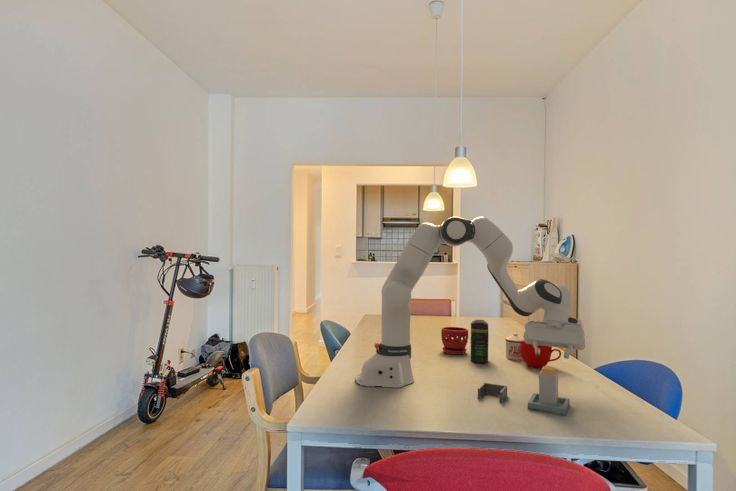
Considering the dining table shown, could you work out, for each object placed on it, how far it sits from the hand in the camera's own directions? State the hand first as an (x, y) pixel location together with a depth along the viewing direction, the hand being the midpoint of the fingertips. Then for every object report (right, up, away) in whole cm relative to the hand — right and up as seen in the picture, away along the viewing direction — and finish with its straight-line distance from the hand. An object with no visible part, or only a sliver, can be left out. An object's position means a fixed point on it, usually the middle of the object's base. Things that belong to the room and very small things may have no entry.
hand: (551, 355), depth 152 cm
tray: (-5, -14, -10) cm, 18 cm away
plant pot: (-21, -15, +65) cm, 70 cm away
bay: (-21, -14, -1) cm, 25 cm away
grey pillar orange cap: (-5, -13, -10) cm, 18 cm away
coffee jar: (-13, -15, +48) cm, 52 cm away
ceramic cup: (+11, -15, +38) cm, 42 cm away
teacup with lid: (+7, -15, +53) cm, 56 cm away
